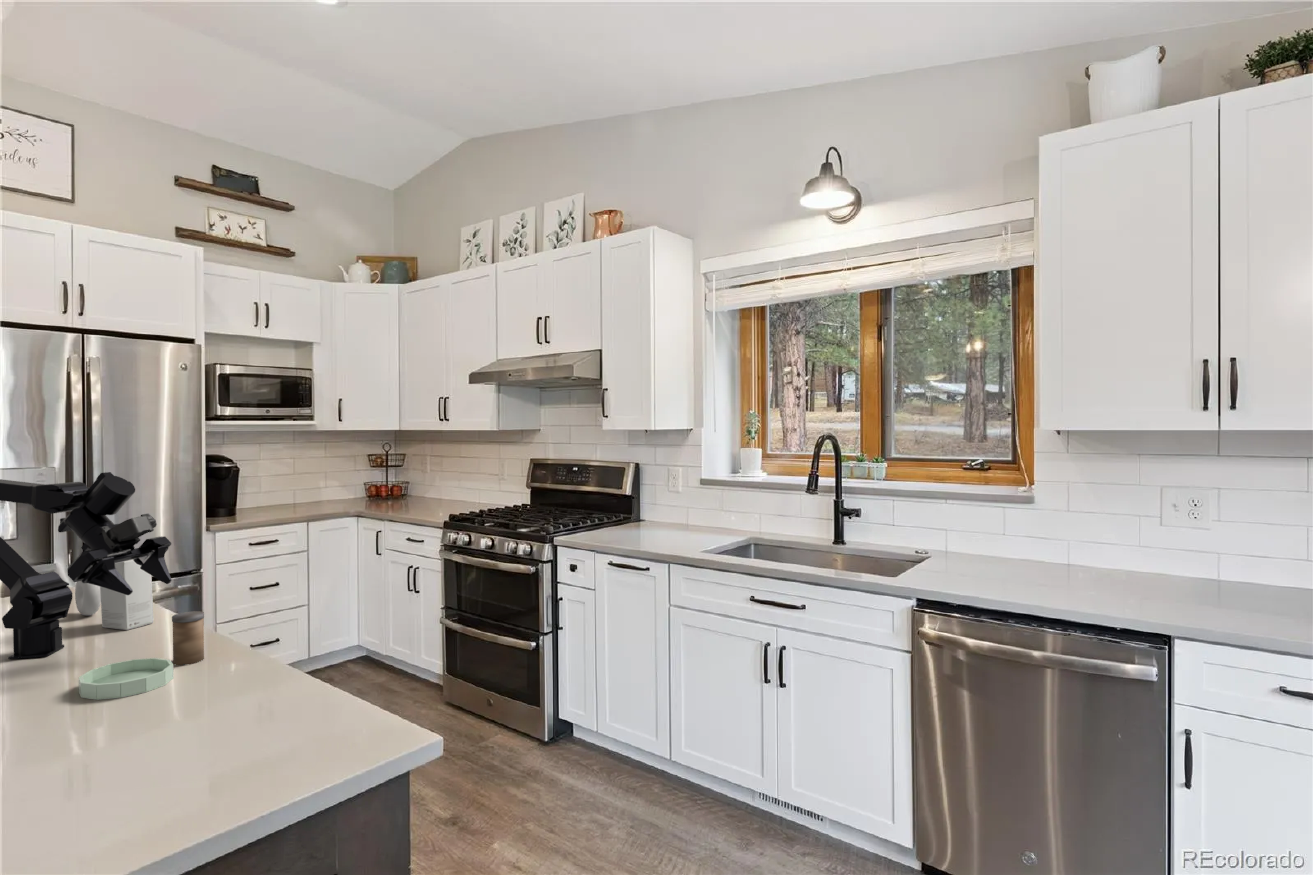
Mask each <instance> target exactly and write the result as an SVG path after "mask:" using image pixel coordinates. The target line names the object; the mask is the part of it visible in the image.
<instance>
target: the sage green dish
mask: <svg viewBox="0 0 1313 875" xmlns="http://www.w3.org/2000/svg"><path fill="white" fill-rule="evenodd" d="M173 679H174V664H173V661H171V660H170V659H167V658H161V657H160V658H159V657H148V658H147V657H146V658H135V659H129V660H123V661H118V662H112V663H109V664H108V663H107V664H105V665H102V666H99V667H97V668H93V669H90V670H88V671H86V672H85V673H83V674H81V675H80V676H79V677H78V693H79V695H80V698H82V699H83V698H84V699H90V700H95V701H97V700H99V701H100V700H108V699H109V700H111V699H121V698H127V697H130V696H135V695H139V694H144V693H148V692H150V691H154V690H155V689H159V688H161V687H163V686H166V685H167V684H168V683H170V682H171V681H172V680H173Z"/></svg>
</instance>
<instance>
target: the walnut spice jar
mask: <svg viewBox="0 0 1313 875" xmlns="http://www.w3.org/2000/svg"><path fill="white" fill-rule="evenodd" d="M204 619H205V612H204V611H199V610H198V611H197V610H194V611H193V610H191V611H185V612H178V613H176V614H174V615H172V616H171V622H172V663H173V665H174V664H176V665H175V666H184V665H183V664H189V665H194V664H197V662H198V663H200V662H202V661H204V660H205V641H204V640H205V635H204V634H205V633H204V629H205V628H204V625H205V622H204ZM203 659H204V660H203ZM201 660H202V661H201ZM199 661H200V662H199Z"/></svg>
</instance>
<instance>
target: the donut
mask: <svg viewBox="0 0 1313 875" xmlns="http://www.w3.org/2000/svg"><path fill="white" fill-rule="evenodd" d="M74 599H75V605H76V609H77V611H78V613H80V614H81V615H82V616H85V617H86V616H93V615H95V614H96V613H97V612H98V611H99V609H100V607H101V593H100V586H97V585H93V584H89V583H82V582H81V581H78V582H75V588H74Z"/></svg>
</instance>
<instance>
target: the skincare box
mask: <svg viewBox="0 0 1313 875" xmlns="http://www.w3.org/2000/svg"><path fill="white" fill-rule="evenodd" d="M140 567H141V565H138V564H136V563H135V562H134V561H133V560H129V561H125V562H120V563H116V564H115V568H116V570H117V571H118V572H119V574H120V575H121V576H122V577H123V578H124V580H125V581H126V582H127V583H128V584H129V586H130V587H131V589H132V590H133V592H132V593H131V594H130V595H125V594H122V593H119V592H116V591H113V590H110V589H107V588H104V587H100V593H101V603H100V607H101V610H100V612H101V627H102V628H106V629H115V630H122V631H123V630H124V631H129V630H134V629H136V628H140V627H143V626H146V625H150V624H153V623H154V622H155V620H154V602H153V601H154V600H153V581H152V579H153V578H152V575H150V574H148V573H147V572H145V571H143V570H142V569H140Z"/></svg>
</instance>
